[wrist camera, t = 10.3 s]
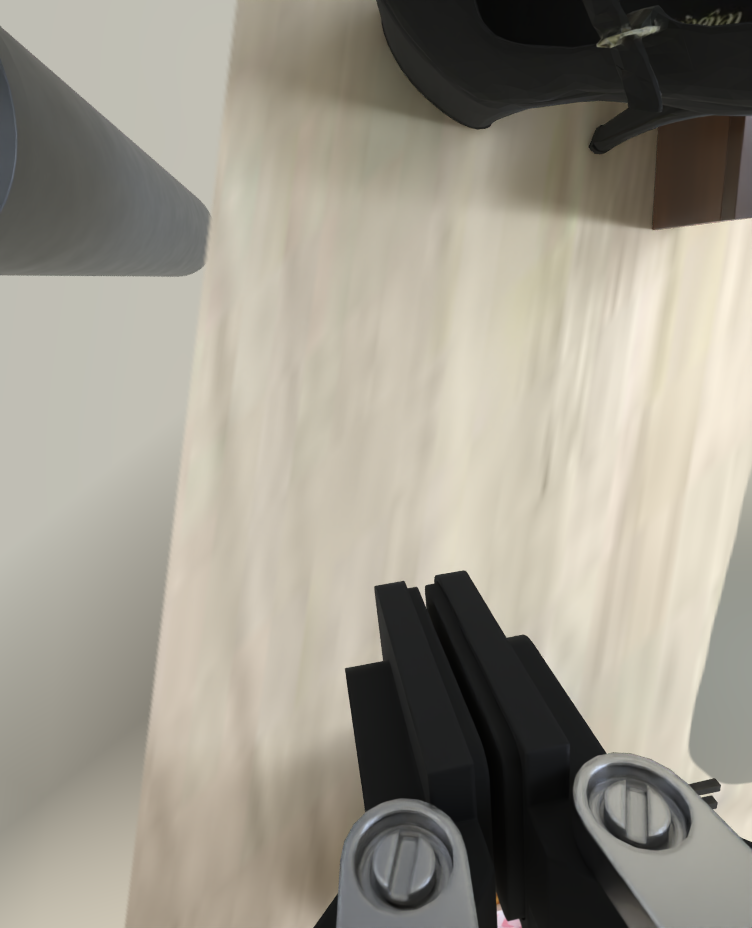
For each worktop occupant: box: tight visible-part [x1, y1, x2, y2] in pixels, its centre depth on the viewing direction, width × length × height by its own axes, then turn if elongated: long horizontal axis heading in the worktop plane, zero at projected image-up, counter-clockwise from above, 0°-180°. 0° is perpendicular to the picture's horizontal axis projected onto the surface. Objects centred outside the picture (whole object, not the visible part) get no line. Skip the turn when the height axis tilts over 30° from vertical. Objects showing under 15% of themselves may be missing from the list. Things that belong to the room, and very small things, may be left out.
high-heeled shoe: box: [376, 0, 752, 154], centre depth 22 cm, size 8×19×20 cm, turn 70°
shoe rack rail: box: [652, 115, 752, 230], centre depth 30 cm, size 4×16×7 cm, turn 6°
